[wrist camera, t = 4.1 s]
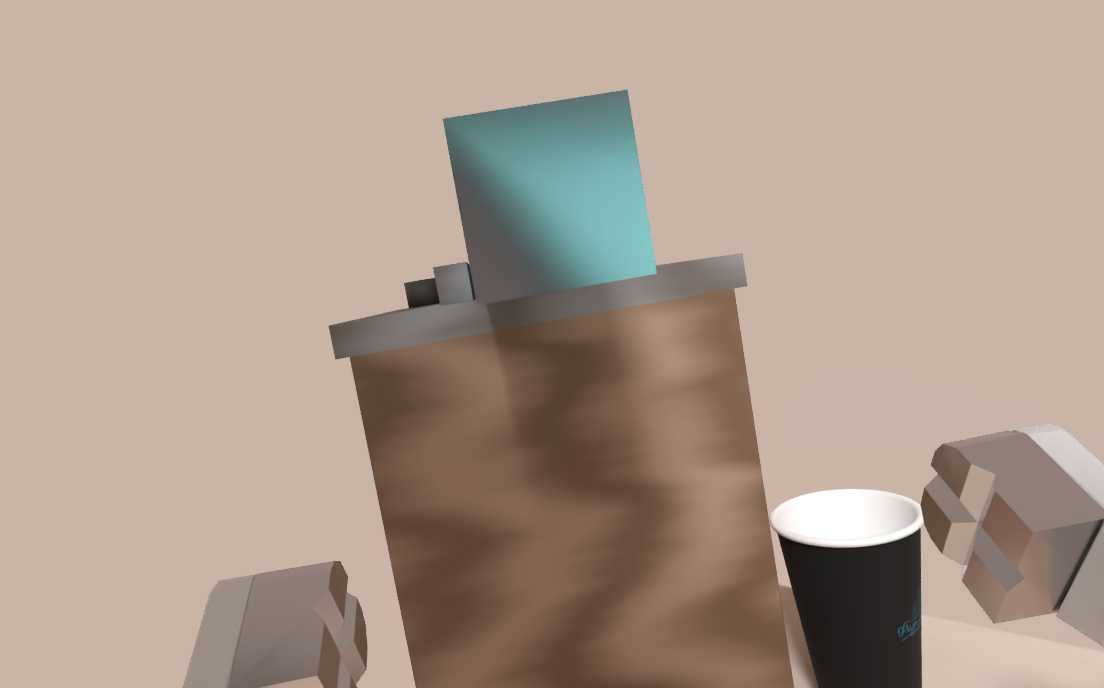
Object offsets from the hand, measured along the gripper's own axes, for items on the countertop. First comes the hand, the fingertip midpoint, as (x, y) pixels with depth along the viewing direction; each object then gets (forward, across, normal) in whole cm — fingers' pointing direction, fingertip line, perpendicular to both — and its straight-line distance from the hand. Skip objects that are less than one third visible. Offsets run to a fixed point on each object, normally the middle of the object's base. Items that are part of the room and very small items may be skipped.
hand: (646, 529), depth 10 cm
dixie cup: (+12, -15, +34) cm, 39 cm away
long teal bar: (+18, 0, +7) cm, 20 cm away
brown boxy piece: (+10, 0, +32) cm, 34 cm away
